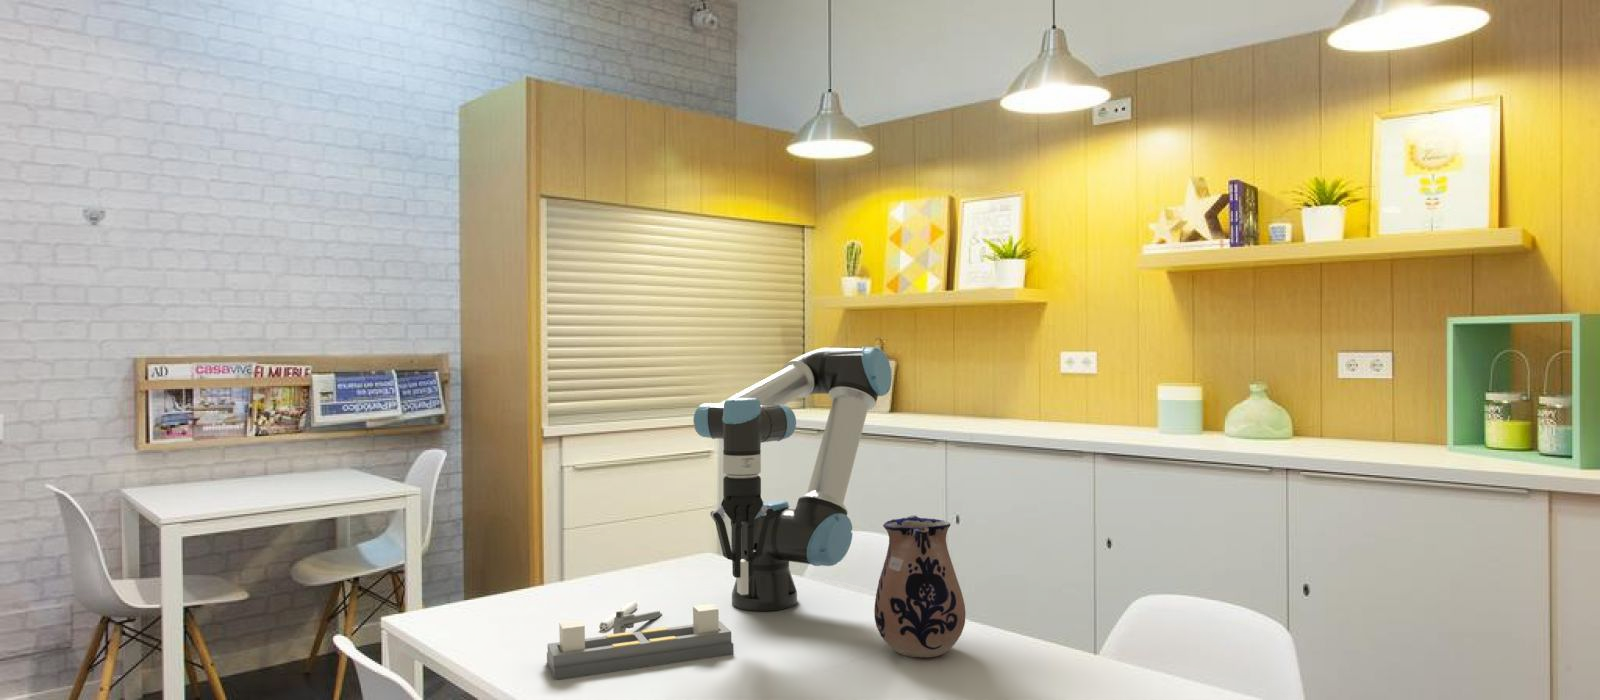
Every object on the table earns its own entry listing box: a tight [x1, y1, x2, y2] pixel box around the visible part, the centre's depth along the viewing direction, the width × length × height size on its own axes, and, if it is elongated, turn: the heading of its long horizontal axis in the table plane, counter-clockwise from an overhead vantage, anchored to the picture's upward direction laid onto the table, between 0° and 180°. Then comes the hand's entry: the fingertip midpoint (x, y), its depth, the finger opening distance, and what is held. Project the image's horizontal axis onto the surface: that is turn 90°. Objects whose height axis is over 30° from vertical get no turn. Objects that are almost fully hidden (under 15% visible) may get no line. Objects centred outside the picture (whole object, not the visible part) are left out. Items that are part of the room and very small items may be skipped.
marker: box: [599, 600, 638, 631], centre depth 210 cm, size 18×2×2 cm, turn 168°
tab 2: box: [692, 603, 720, 634], centre depth 188 cm, size 4×4×6 cm
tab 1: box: [558, 619, 586, 652], centre depth 178 cm, size 4×4×6 cm
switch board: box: [546, 620, 735, 681], centre depth 183 cm, size 34×10×4 cm, turn 113°
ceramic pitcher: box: [874, 514, 966, 658], centre depth 187 cm, size 18×21×25 cm
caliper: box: [612, 610, 663, 634], centre depth 203 cm, size 20×1×6 cm, turn 162°
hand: (742, 592), depth 191 cm, fingers closed
